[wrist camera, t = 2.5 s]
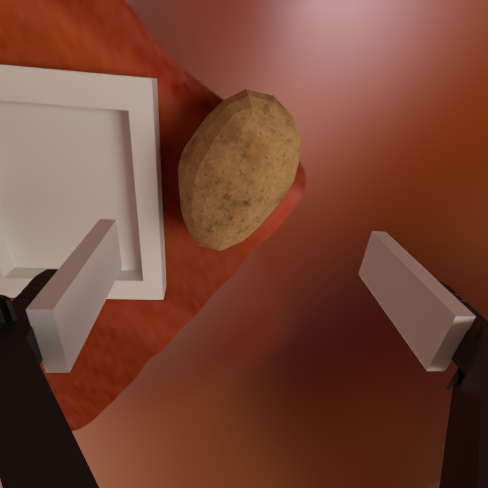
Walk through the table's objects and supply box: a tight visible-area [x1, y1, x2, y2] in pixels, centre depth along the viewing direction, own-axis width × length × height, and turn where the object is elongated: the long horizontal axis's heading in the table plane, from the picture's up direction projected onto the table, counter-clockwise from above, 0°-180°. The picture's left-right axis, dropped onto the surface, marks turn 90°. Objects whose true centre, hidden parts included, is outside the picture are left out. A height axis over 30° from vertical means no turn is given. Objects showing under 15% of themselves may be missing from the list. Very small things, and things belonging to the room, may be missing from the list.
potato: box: [178, 90, 301, 251], centre depth 27 cm, size 10×14×8 cm
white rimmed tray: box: [0, 64, 166, 300], centre depth 29 cm, size 22×18×3 cm
